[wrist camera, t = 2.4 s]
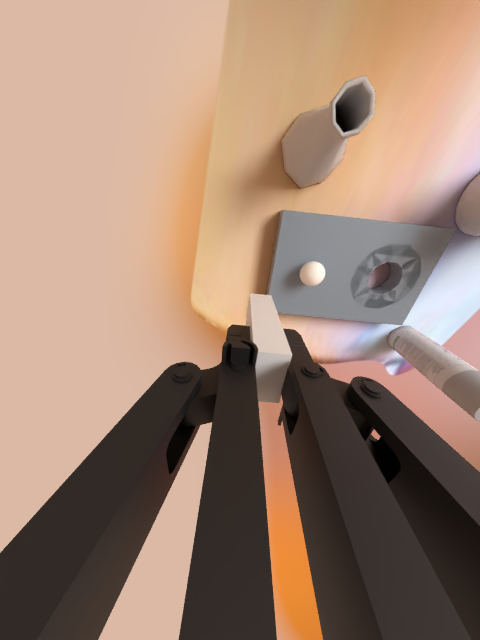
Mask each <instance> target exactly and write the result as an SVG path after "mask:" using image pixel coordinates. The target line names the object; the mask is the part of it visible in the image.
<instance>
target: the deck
mask: <svg viewBox="0 0 480 640" xmlns="http://www.w3.org/2000/svg"><path fill="white" fill-rule="evenodd" d="M455 231H456V229H451V228H442V227H433V226H424V225H415V224H406V223H396V222H387V221H378V220H369V219H360V218H351V217H342V216H333V215H323V214H314V213H305V212H296V211H287V210H282V211H280V216H279V222H278V228H277V233H276V239H275V245H274V251H273V257H272V263H271V269H270V275H269V281H268V287H267V293H266V295H271V296H272V299H273V302H274V304H275V307H276V310H277V313H281V314H291V315H301V316H312V317H322V318H332V319H343V320H353V321H363V322H374V323H384V324H394V325H402V324H403V322H404V320H405V319H406V317H407V315H408V313H409V312H410V310H411V308H412V306H413V305H414V303H415V301H416V299H417V298H418V296H419V294H420V292H421V291H422V289H423V287H424V285H425V284H426V282H427V280H428V278H429V277H430V275H431V273H432V271H433V269H434V268H435V266H436V264H437V262H438V261H439V259H440V257H441V255H442V254H443V252H444V250H445V248H446V247H447V245H448V243H449V241H450V240H451V238H452V236H453V234H454V233H455ZM311 261H316V262H319V263H321V264H322V265H323V267H324V268H325V277H324V279H323V280H322V282H321V283H319V284H317V285H315V286H308V285H306V284H304V283H303V282H302V281H301V279H300V270H301V268H302V267H303V266H304V265H305V264H306V263H308V262H311ZM386 262H388V263H389V264H390V268H391V273H390V275H389V277H388V279H387V280H386V281H385V282H384V283H383V284H382V285H381V286H378V287H376V288H373V289H369V288H368V283H367V281H368V278H369V276H370V274H371V272H372V271H373V270H374V269H375V268H376V267H377V266H379V265H381V264H384V263H386Z"/></svg>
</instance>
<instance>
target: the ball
mask: <svg viewBox="0 0 480 640" xmlns="http://www.w3.org/2000/svg"><path fill="white" fill-rule="evenodd" d="M324 277H325V268H324V267H323V265H322V264H321V263H319V262H316V261H311V262H308V263H306V264H305V265H304V266H303V267H302V268H301V270H300V279H301V281H302V282H303V283H304V284H306V285H308V286H315V285H317V284H319V283H321V282H322V280H323V279H324Z"/></svg>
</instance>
